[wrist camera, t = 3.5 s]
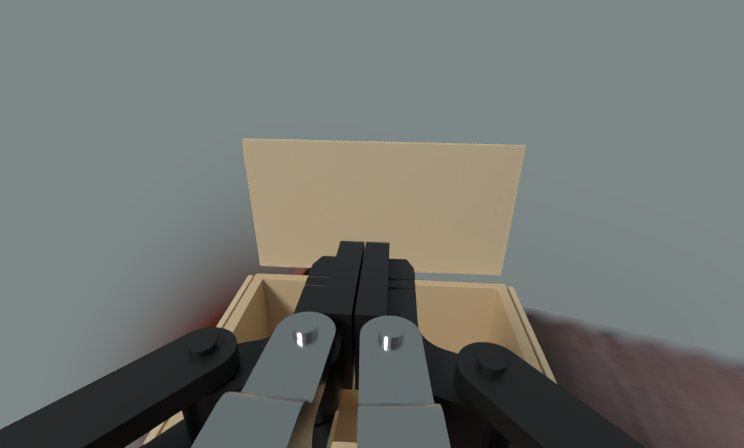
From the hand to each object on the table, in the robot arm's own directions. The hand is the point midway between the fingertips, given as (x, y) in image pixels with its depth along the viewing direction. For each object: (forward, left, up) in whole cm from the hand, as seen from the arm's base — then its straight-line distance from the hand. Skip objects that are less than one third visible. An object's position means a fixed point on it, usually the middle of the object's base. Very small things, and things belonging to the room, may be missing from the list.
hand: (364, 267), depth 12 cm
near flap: (0, -11, -3) cm, 12 cm away
